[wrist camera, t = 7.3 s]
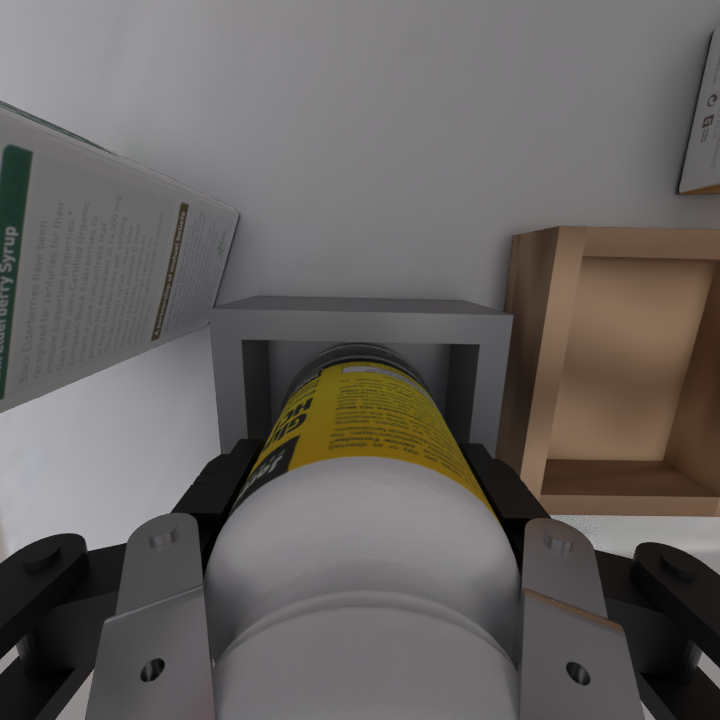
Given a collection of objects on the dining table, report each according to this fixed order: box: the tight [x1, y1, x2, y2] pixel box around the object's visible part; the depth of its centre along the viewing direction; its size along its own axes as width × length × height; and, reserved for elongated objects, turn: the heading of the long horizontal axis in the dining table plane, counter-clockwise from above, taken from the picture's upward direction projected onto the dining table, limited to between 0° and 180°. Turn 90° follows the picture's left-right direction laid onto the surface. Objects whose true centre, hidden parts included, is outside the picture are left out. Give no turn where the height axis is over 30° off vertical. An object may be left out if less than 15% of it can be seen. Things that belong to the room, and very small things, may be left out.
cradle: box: [209, 296, 514, 459], centre depth 15 cm, size 10×10×6 cm
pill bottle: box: [204, 355, 520, 720], centre depth 9 cm, size 6×6×11 cm
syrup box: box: [0, 101, 239, 413], centre depth 9 cm, size 6×6×14 cm
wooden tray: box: [494, 226, 720, 517], centre depth 16 cm, size 12×10×4 cm
